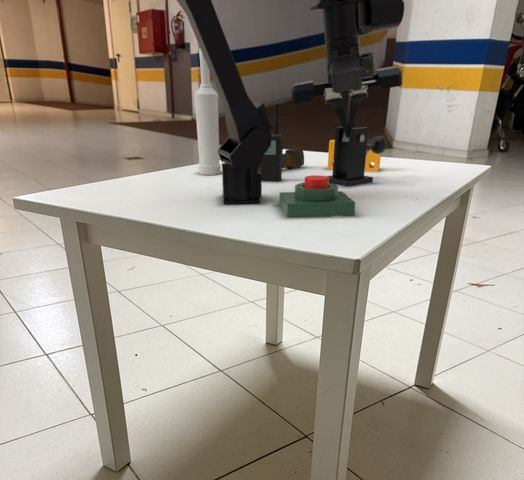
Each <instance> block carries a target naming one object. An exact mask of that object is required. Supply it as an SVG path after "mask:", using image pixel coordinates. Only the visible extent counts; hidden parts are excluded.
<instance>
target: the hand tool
mask: <svg viewBox="0 0 524 480" xmlns="http://www.w3.org/2000/svg"><path fill="white" fill-rule="evenodd" d="M284 152H285V153H282V169H286V170H296V169H298V168H301V167H303V166H304V165H305V154H304V149H303V148H302V147H294V148H288V149H286V150H285V151H284ZM258 172H259V167H258Z"/></svg>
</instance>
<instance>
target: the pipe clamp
mask: <svg viewBox="0 0 524 480" xmlns="http://www.w3.org/2000/svg"><path fill="white" fill-rule="evenodd" d="M334 146H335V139H330V140H329V142H328V156H327V170H333V161H334ZM372 163H373V164H374V165H372ZM380 165H381V154H375V153H373V152H372V151H371V149H370V148H369V151H368V152H366V161H365V171H364V172H366V171H367V172H379V170H380Z"/></svg>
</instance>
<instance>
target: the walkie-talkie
mask: <svg viewBox="0 0 524 480" xmlns="http://www.w3.org/2000/svg"><path fill="white" fill-rule="evenodd" d="M279 107H280V105H279V103H274V119H273V121H274V125H273V133H271V135H272V142H271V144H270V147H269V149H268V150H267V152H266V153H265V154H264V155H263V158H262V161H261V164H260V167H259V172H260V173H261V175H262V182H270V183H272V182H273V183H278V182H281V181H282V173H283V172H282V171H283V168H282V154H284V153H283V152H284V151H283V150H284V148H283V147H284V145H283V144H284V143H283V135H282V133H279Z"/></svg>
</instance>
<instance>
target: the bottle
mask: <svg viewBox="0 0 524 480" xmlns="http://www.w3.org/2000/svg"><path fill="white" fill-rule="evenodd" d="M198 54H199V66H200V68H199V69H200V85H199V88H198V89H197V91H196V92H194V95H193V96H194V107H195V108H194V109H195V120H196V133H197V148H198V160H199V164H198V172H199V174H200V175H203V176H216V175H221V171H222V164H220V157H219V154H218V149H219V148H220V136H219V135H220V130H219V128H220V127H219V126H220V125H219V93H218V91H216V90H215V89H214V88H213V85H212V84H211V73H210V70H209V68H208V66H207V63H206V61H205V58H204V56H203V53H202V51H201V49H200V47H199V48H198Z"/></svg>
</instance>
